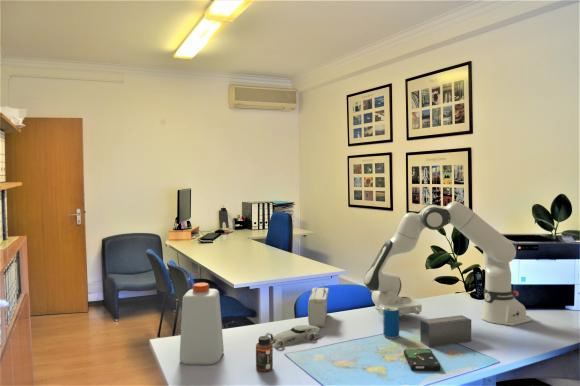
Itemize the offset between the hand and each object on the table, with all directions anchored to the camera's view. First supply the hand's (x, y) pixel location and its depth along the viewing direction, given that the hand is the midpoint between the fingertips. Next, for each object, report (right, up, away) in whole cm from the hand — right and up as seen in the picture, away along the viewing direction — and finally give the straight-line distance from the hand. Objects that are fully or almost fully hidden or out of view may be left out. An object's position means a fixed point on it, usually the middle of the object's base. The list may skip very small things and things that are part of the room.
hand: (409, 313), depth 205 cm
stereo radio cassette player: (-40, -6, +10) cm, 41 cm away
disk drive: (-5, -9, -37) cm, 39 cm away
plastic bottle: (-87, -8, -32) cm, 93 cm away
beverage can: (-10, -7, -11) cm, 17 cm away
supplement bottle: (-62, -9, -42) cm, 76 cm away
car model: (-52, -8, -14) cm, 54 cm away
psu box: (+11, -7, -17) cm, 21 cm away
